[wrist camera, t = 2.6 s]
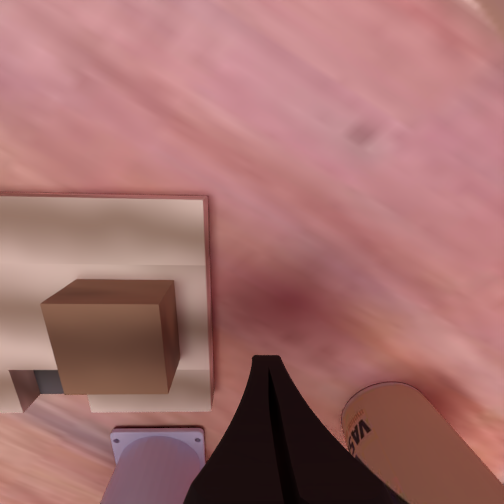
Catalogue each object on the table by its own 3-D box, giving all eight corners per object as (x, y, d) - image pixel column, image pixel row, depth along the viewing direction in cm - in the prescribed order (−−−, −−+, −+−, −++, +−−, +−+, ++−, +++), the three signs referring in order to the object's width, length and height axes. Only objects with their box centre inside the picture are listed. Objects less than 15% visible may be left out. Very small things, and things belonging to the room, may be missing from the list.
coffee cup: (329, 380, 22) (423, 619, 10) (441, 367, 21) (663, 595, 10) (332, 456, 25) (408, 708, 13) (431, 445, 24) (592, 690, 13)
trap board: (214, 390, 22) (211, 411, 20) (-109, 391, 21) (-145, 414, 19) (207, 195, 17) (203, 199, 15) (-220, 188, 16) (-284, 190, 14)
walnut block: (180, 358, 18) (168, 394, 15) (93, 358, 18) (64, 394, 15) (174, 279, 16) (158, 304, 13) (76, 279, 16) (39, 303, 13)
